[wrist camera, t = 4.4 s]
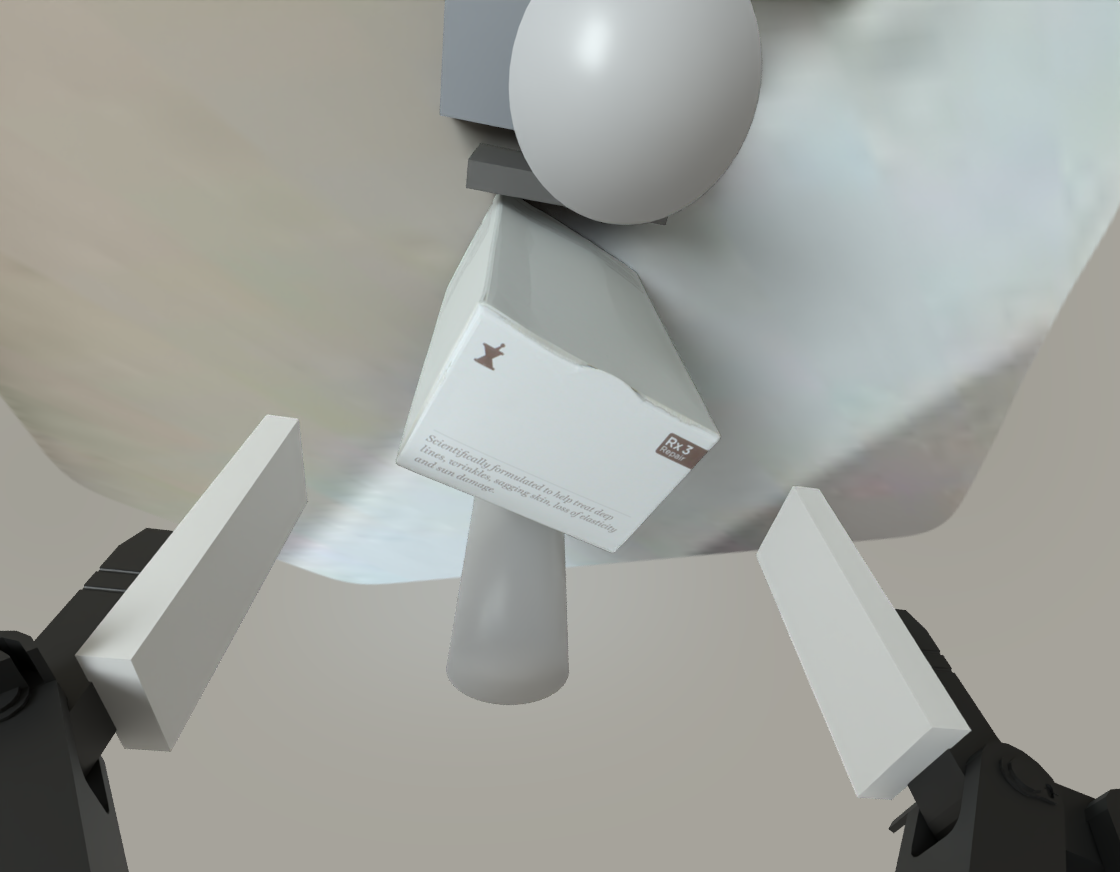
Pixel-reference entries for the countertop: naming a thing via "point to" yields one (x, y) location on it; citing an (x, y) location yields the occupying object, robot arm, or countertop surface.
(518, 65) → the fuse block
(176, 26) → the countertop surface
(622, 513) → the skincare box
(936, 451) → the countertop surface
